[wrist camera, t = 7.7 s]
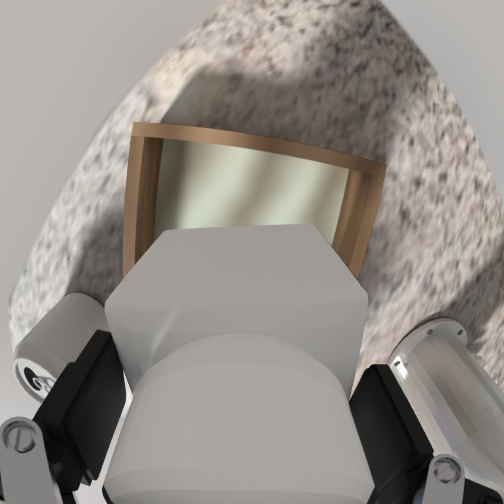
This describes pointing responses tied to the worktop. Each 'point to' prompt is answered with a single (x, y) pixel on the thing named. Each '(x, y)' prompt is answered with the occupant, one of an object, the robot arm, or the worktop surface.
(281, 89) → the worktop surface
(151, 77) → the worktop surface
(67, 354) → the can
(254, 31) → the worktop surface
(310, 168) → the crate
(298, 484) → the medicine bottle
